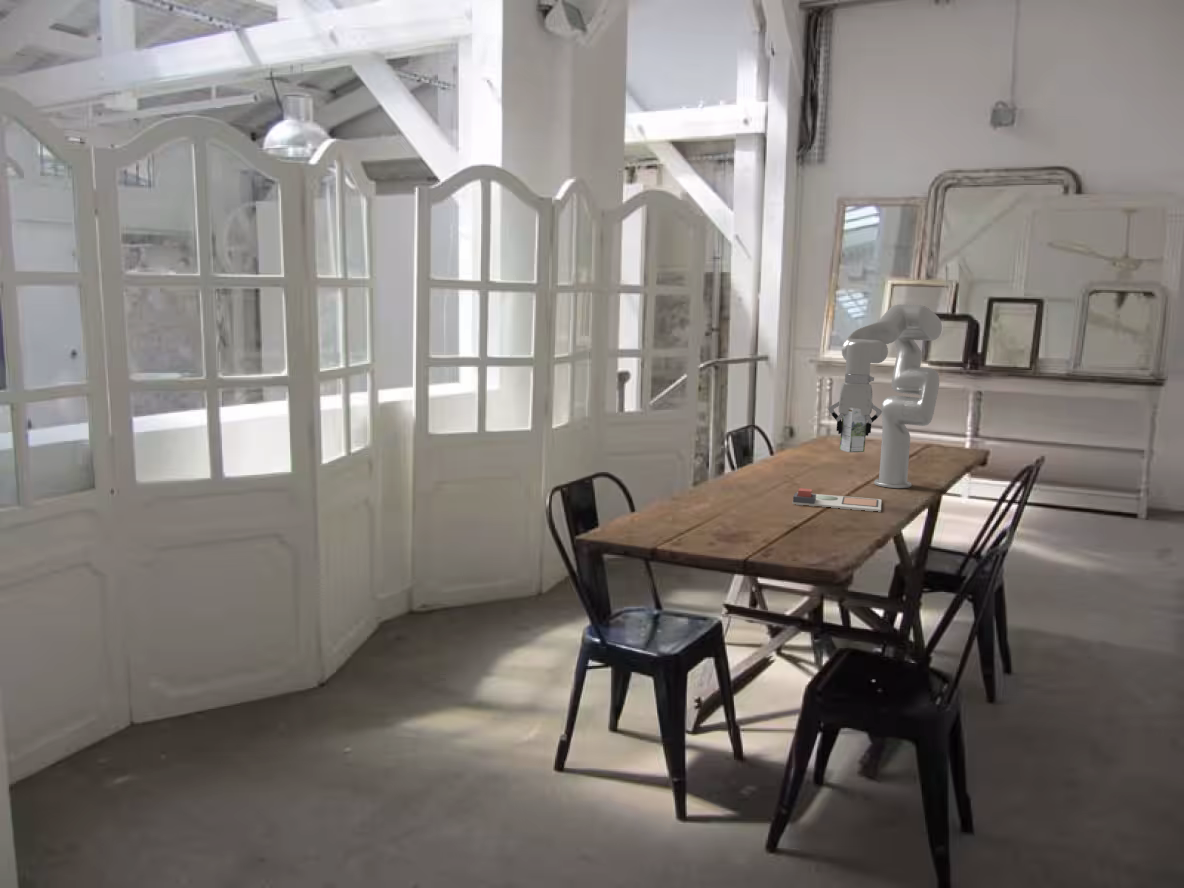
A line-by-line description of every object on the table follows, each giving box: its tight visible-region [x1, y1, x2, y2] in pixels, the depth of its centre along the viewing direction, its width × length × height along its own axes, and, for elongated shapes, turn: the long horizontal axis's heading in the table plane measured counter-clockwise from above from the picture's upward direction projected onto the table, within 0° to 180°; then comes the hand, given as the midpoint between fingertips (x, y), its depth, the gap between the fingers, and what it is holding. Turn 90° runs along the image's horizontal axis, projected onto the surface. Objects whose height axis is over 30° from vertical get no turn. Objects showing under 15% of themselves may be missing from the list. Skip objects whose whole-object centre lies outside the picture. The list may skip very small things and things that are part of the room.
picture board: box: [791, 492, 882, 513], centre depth 314 cm, size 16×27×3 cm, turn 73°
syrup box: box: [839, 407, 867, 453], centre depth 314 cm, size 6×6×14 cm
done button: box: [797, 487, 813, 497], centre depth 313 cm, size 4×4×2 cm
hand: (853, 434), depth 314 cm, fingers closed on syrup box, 8 cm apart
